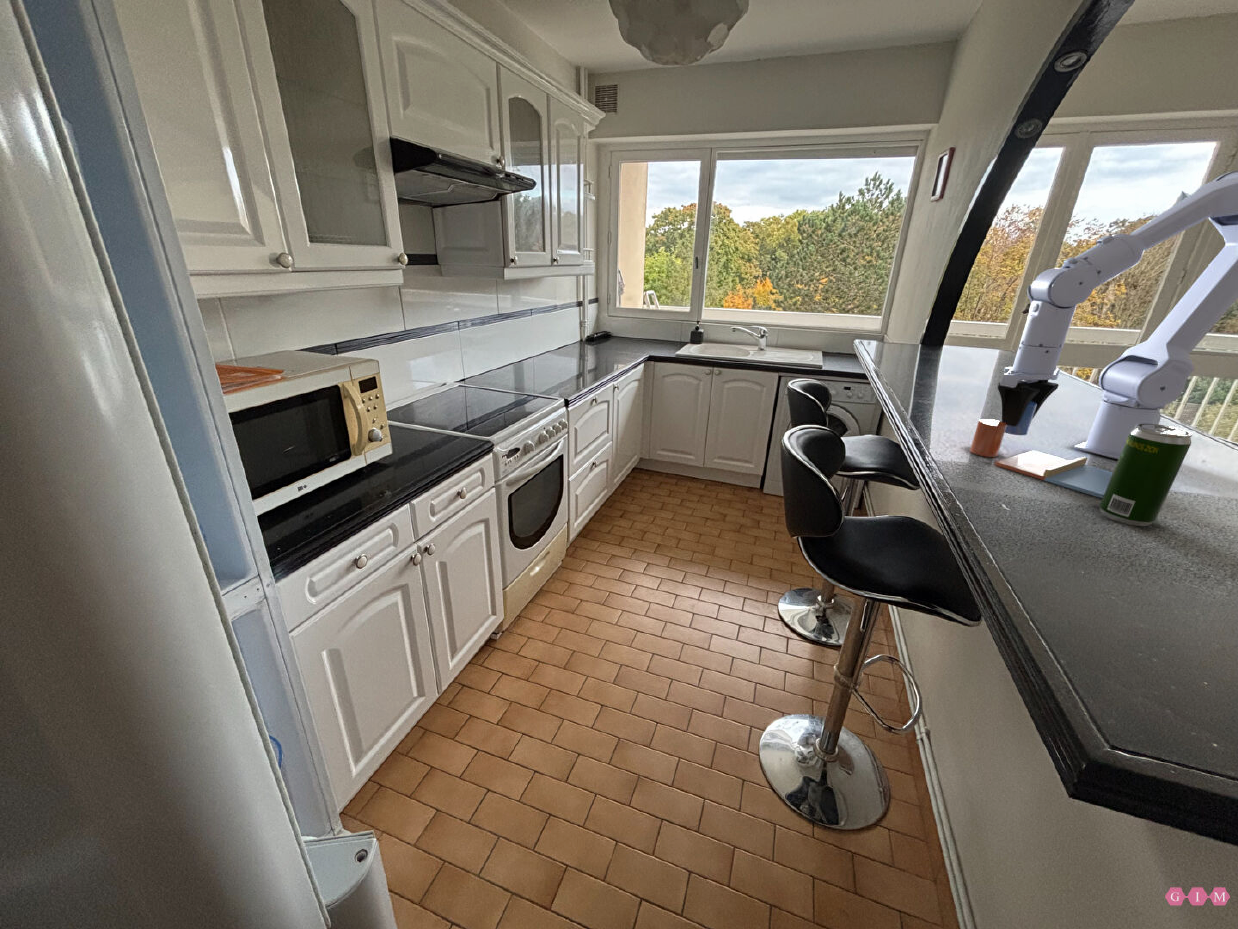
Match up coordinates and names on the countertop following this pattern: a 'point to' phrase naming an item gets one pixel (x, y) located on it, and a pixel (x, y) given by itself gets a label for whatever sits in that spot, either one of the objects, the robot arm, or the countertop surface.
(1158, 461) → the green drink can
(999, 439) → the orange cylinder
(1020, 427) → the cylinder
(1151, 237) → the robot arm
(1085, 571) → the countertop surface
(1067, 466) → the board
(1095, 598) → the countertop surface
